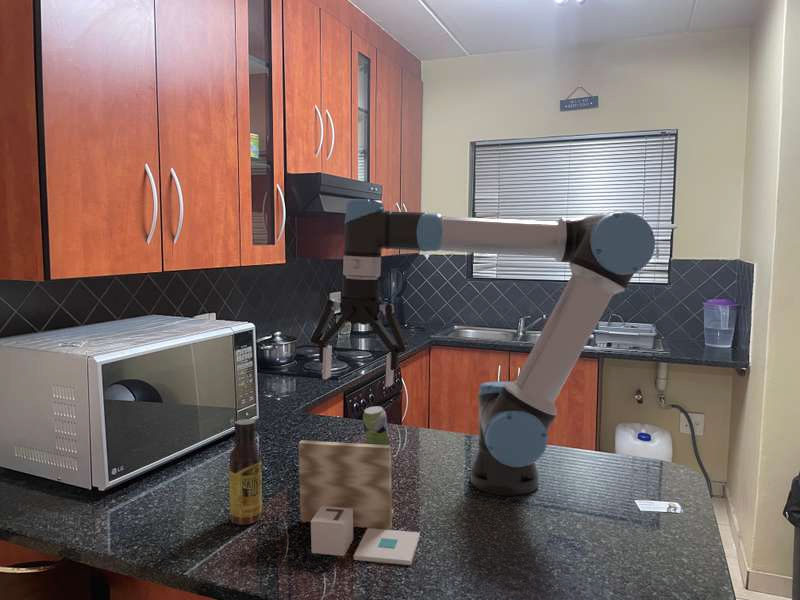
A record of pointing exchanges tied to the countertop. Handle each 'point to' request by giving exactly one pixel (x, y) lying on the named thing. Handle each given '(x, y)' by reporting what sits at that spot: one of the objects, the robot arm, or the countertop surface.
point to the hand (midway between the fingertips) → (357, 381)
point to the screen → (347, 481)
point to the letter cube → (332, 530)
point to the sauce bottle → (245, 476)
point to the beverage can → (376, 426)
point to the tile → (387, 546)
